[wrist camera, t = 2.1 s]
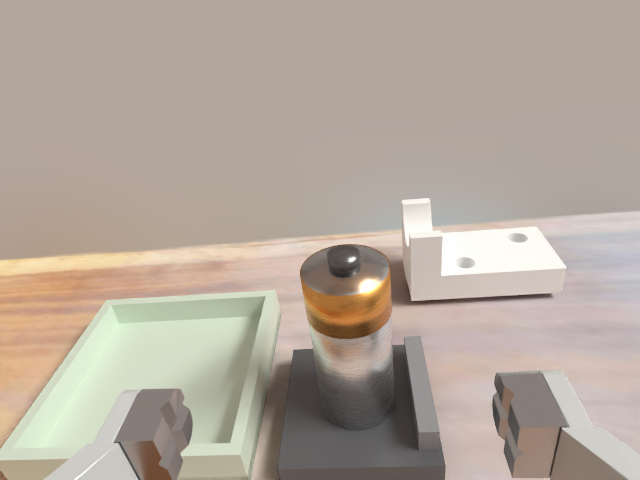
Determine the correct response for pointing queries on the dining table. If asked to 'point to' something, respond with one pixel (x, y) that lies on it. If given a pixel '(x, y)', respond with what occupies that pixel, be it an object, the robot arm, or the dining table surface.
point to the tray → (159, 381)
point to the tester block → (367, 445)
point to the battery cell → (351, 333)
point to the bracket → (475, 260)
